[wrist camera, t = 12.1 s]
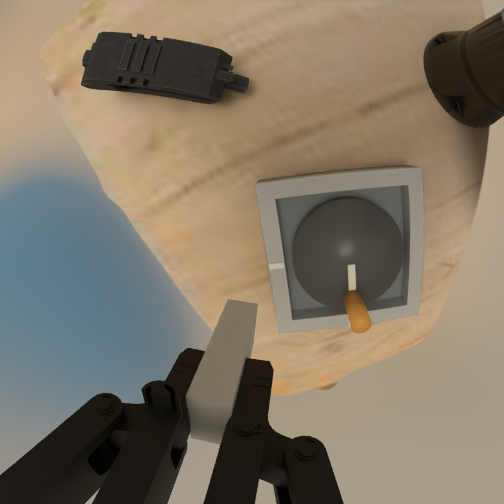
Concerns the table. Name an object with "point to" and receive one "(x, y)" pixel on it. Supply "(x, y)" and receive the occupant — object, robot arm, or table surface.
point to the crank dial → (348, 255)
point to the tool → (159, 68)
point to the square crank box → (311, 195)
